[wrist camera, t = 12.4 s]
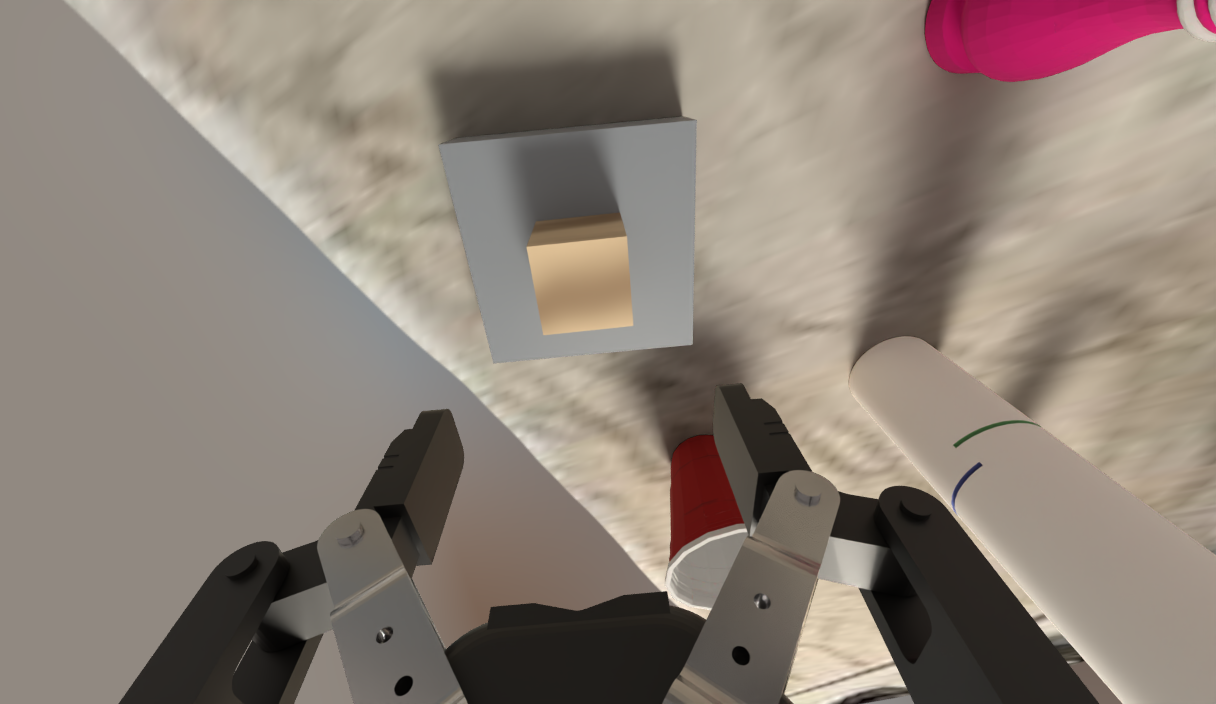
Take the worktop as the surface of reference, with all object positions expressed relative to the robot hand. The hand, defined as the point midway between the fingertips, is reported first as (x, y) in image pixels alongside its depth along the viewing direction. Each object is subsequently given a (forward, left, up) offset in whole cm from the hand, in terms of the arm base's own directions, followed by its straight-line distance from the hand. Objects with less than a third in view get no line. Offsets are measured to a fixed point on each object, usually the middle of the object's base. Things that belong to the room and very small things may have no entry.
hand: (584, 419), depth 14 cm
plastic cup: (+22, +9, -20) cm, 31 cm away
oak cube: (0, 0, -16) cm, 16 cm away
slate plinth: (0, 0, -20) cm, 20 cm away
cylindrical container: (+14, +25, -20) cm, 35 cm away
